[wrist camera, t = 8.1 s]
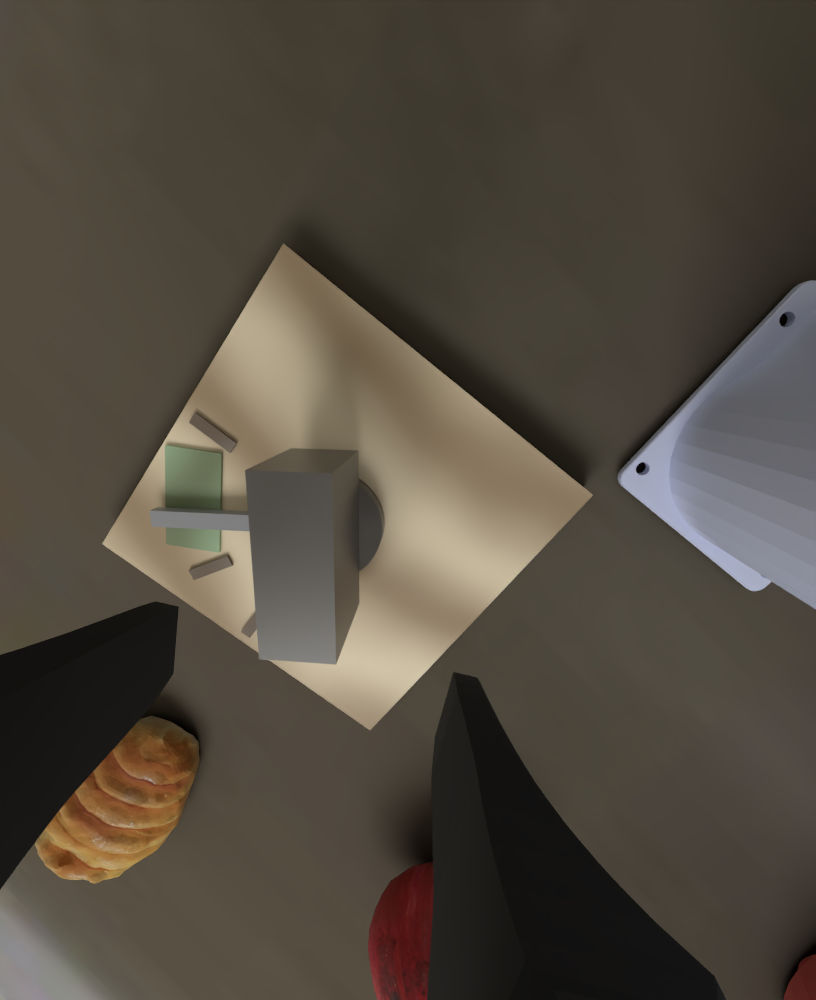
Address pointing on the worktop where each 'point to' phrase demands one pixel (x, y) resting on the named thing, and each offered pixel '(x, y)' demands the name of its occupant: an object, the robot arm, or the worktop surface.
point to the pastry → (123, 804)
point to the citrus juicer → (803, 981)
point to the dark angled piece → (301, 548)
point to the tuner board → (382, 466)
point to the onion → (403, 936)
